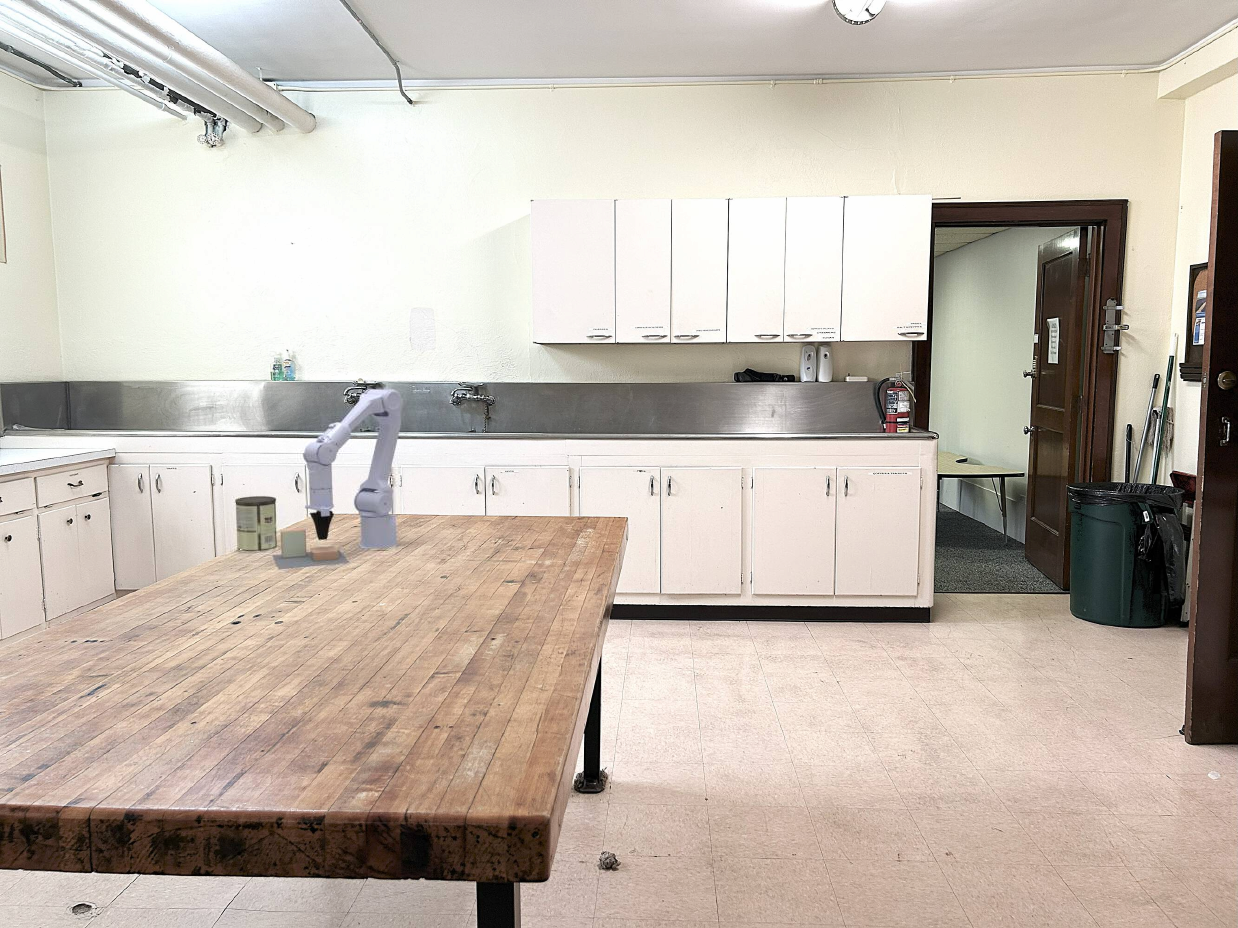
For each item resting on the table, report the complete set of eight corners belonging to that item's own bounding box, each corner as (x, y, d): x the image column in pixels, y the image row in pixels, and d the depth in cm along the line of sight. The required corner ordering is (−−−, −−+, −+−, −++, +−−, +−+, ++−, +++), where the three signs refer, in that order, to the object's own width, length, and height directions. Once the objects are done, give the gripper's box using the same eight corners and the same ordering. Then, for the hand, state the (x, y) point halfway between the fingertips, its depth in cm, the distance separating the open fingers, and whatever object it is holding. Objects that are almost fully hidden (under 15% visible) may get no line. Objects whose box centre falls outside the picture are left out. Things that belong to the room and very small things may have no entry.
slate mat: (338, 550, 241) (338, 549, 241) (349, 564, 225) (349, 562, 225) (272, 556, 234) (272, 555, 234) (278, 570, 218) (278, 569, 218)
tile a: (310, 547, 232) (313, 552, 226) (333, 545, 235) (338, 550, 229) (310, 556, 233) (314, 561, 226) (334, 554, 235) (338, 559, 229)
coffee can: (247, 545, 247) (245, 495, 246) (283, 546, 247) (282, 496, 245) (229, 553, 237) (228, 501, 236) (267, 554, 237) (266, 502, 235)
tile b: (281, 556, 231) (280, 530, 231) (305, 554, 234) (304, 528, 233) (282, 558, 229) (281, 532, 229) (306, 556, 232) (305, 530, 231)
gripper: (301, 485, 235) (303, 535, 237) (308, 492, 222) (310, 545, 224) (328, 484, 238) (330, 533, 240) (337, 490, 226) (338, 543, 227)
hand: (322, 539), depth 232 cm, fingers closed
